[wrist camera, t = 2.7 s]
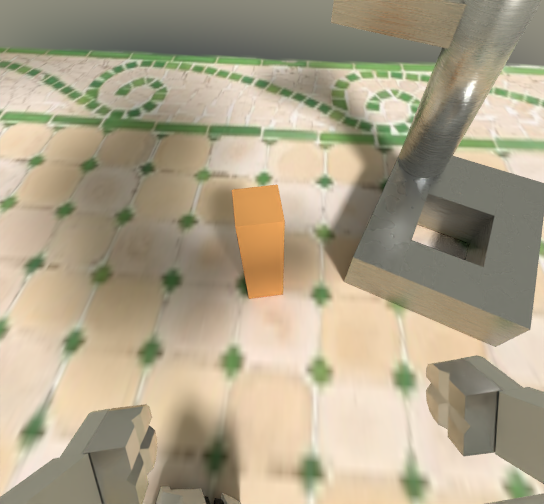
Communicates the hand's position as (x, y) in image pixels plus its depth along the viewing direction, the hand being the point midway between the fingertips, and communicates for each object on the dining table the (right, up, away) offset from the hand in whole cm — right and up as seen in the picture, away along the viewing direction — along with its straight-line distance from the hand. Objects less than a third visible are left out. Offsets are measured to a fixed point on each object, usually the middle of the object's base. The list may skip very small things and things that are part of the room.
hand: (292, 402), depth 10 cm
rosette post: (+11, +6, +21) cm, 24 cm away
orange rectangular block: (-1, +2, +18) cm, 18 cm away
